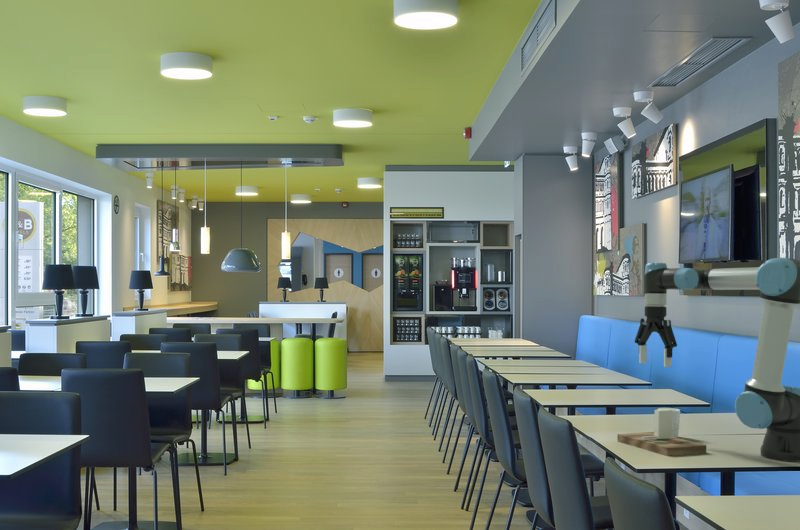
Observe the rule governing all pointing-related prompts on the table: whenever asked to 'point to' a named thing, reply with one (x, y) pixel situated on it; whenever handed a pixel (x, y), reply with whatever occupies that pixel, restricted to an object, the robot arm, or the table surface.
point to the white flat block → (662, 424)
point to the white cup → (674, 421)
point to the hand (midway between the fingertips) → (655, 365)
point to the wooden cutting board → (662, 444)
